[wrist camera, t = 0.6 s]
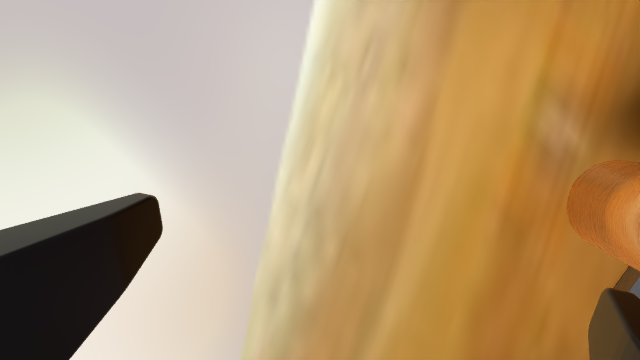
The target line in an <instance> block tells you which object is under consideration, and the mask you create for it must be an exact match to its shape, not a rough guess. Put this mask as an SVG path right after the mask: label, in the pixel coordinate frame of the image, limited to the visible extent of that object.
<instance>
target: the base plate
mask: <svg viewBox="0 0 640 360" xmlns="http://www.w3.org/2000/svg"><path fill="white" fill-rule="evenodd" d="M614 289H617V290H622V291H627V292H631V293H634V294H635V295H636V296H637V297H638V298H640V271H638V270H636V269H635V268H633V267H631V266H630V267H629V268H628V269H627V271H626V272H625V273H624V275H623V276H622V278H621V279H620V280H619V282H618V283H617V284H616V286H615V287H614Z"/></svg>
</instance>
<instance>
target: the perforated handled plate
mask: <svg viewBox="0 0 640 360" xmlns="http://www.w3.org/2000/svg"><path fill="white" fill-rule="evenodd" d="M567 212H568V217H569V220H570V223H571V225H572V227H573V228H574V230H575V231H576V233H577V234H578V235H579V236H580V237H581V238H582V239H583V240H585V241H586V242H588V243H589V244H591V245H593V246H595V247H597V248H599V249H600V250H602V251H604V252H606V253H608V254H609V255H611V256H613V257H615V258H617V259H618V260H620V261H622V262H624V263H626V264H627V265H629V266H631V267H633V268H635V269H636V270H638V271H640V163H639V162H629V161H607V162H604V163H600V164H598V165H595V166H593V167H591V168H589V169H588V170H587V171H585V172H584V173H583V174H582V175H581V176H580V177H579V178H578V179H577V180H576V181H575V183H574V184H573V186H572V188H571V190H570V193H569V196H568V201H567Z"/></svg>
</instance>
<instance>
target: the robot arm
mask: <svg viewBox="0 0 640 360" xmlns="http://www.w3.org/2000/svg"><path fill="white" fill-rule="evenodd" d="M162 229H163V226H162V220H161V214H160V208H159V203H158V200H157V198H156V197H154V196H152V195H147V194H142V193H136V194H132V195H128V196H125V197H121V198H117V199H114V200H110V201H106V202H102V203H99V204H95V205H91V206H88V207H84V208H80V209H77V210H73V211H69V212H65V213H62V214H58V215H54V216H51V217H47V218H43V219H40V220H36V221H32V222H29V223H25V224H21V225H18V226H14V227H10V228H6V229H3V230H0V360H69V359H70V358H71V357H72V356H73V355H74V353H75V352H76V351H77V350H78V348H79V347H80V346H81V345H82V343H83V342H84V341H85V340H86V338H87V337H88V336H89V335H90V333H91V332H92V331H93V330H94V328H95V327H96V326H97V325H98V324H99V322H100V321H101V320H102V319H103V317H104V316H105V315H106V314H107V312H108V311H109V310H110V309H111V307H112V306H113V305H114V304H115V303H116V301H117V300H118V299H119V298H120V296H121V295H122V294H123V292H124V291H125V290H126V288H127V287H128V286H129V284H130V283H131V281H132V280H133V278H134V277H135V275H136V274H137V272H138V270H139V269H140V268H141V266H142V264H143V263H144V261H145V260H146V258H147V257H148V255H149V254H150V252H151V251H152V249H153V248H154V246H155V244H156V243H157V242H158V240H159V239H160V237H161V234H162ZM588 340H589V356H590V360H640V298H638V297H637V296H636V295H635V294H634V293H631V292H627V291H622V290H617V289H612V288H607V289H605V290H604V291H603V292H602V293H601V296H600V298H599V301H598V304H597V306H596V309H595V311H594V314H593V316H592V319H591V322H590V325H589V332H588Z"/></svg>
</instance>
